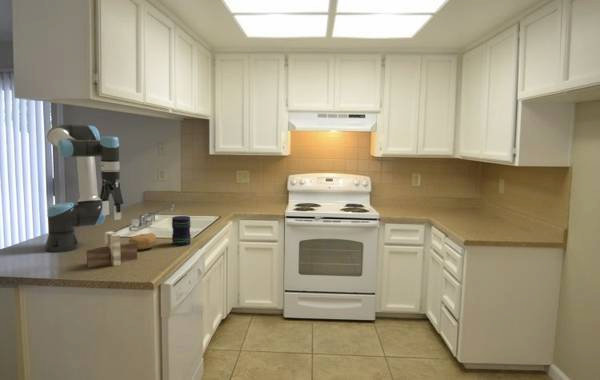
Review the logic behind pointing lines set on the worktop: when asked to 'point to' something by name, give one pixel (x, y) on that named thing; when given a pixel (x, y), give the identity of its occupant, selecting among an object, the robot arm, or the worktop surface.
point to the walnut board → (103, 258)
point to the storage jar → (181, 230)
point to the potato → (144, 240)
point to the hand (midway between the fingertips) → (111, 217)
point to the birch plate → (113, 247)
